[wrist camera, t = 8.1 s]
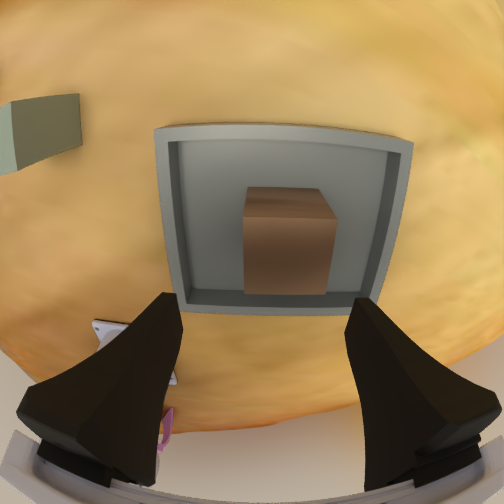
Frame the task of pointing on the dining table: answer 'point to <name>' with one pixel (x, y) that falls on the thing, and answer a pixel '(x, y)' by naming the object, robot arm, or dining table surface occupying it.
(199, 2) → the dining table surface
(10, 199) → the dining table surface
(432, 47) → the dining table surface
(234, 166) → the tray
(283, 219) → the short block
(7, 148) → the tall block
